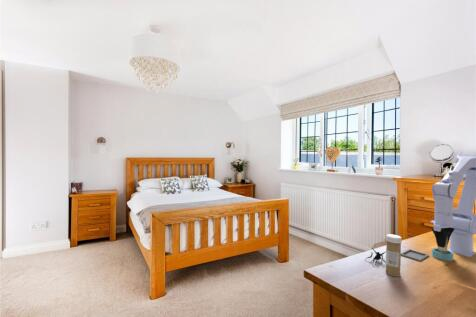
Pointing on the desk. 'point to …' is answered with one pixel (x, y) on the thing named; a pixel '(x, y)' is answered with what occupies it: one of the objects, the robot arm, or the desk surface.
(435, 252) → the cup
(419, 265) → the desk surface
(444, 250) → the pin
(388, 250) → the sprinkles bottle
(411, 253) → the tray
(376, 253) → the creature
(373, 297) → the desk surface
